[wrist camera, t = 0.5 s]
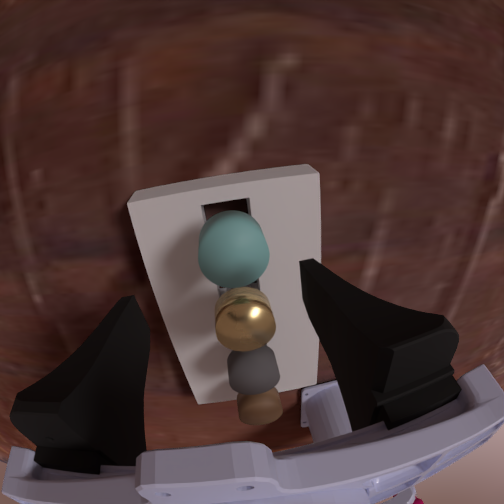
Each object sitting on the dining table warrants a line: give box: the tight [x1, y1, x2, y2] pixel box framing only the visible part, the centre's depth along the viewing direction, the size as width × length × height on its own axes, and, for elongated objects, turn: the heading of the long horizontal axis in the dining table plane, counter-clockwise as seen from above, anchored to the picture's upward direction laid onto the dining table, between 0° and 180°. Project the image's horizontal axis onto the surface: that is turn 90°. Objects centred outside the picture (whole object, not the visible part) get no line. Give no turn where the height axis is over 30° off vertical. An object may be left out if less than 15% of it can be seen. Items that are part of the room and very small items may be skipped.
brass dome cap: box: [214, 284, 276, 351], centre depth 20 cm, size 4×4×4 cm
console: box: [127, 164, 321, 404], centre depth 25 cm, size 21×12×2 cm, turn 6°
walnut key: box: [237, 387, 283, 425], centre depth 25 cm, size 4×4×4 cm
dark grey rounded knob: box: [227, 345, 280, 395], centre depth 22 cm, size 4×4×4 cm
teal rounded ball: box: [198, 210, 270, 288], centre depth 18 cm, size 4×4×4 cm
